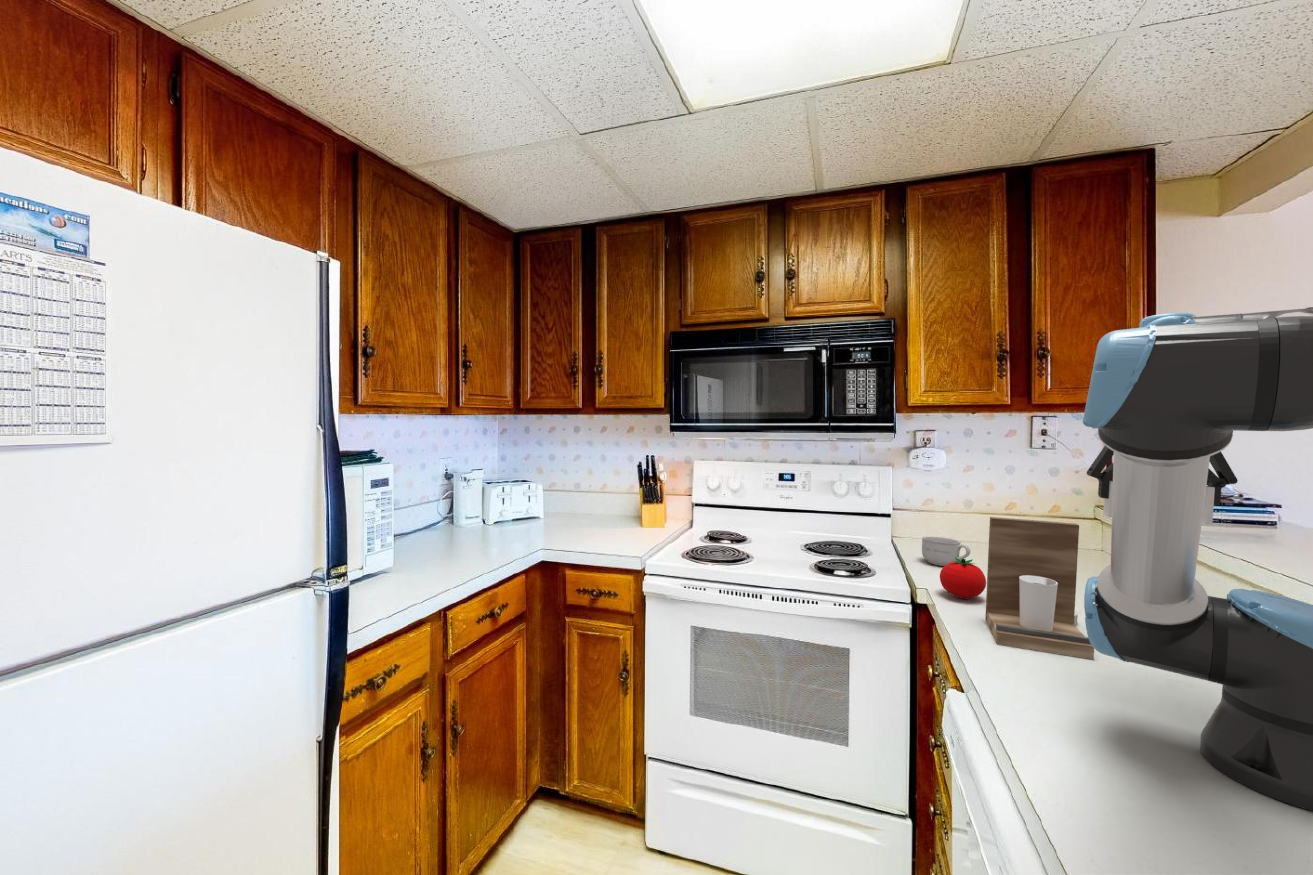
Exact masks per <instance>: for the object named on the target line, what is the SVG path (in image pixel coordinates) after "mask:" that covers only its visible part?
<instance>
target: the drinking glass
mask: <svg viewBox="0 0 1313 875" xmlns="http://www.w3.org/2000/svg"><path fill="white" fill-rule="evenodd" d="M1057 586H1058V583H1057V582H1056V581H1054V580H1051V579H1048V578H1044V577H1039V576H1031V575H1023V576H1020V577H1019V589H1020V625H1021V626H1023V627H1025V628H1027V629H1034V630H1040V631H1047V632H1051V631H1053V622H1054V613H1055V604H1056V595H1057Z"/></svg>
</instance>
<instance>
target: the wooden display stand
mask: <svg viewBox="0 0 1313 875" xmlns="http://www.w3.org/2000/svg"><path fill="white" fill-rule="evenodd" d="M988 528H989V531H988V533H989V534H988V550H987V551H988V552H987V573H986V574H987V575H986V576H987V578H986V595H985V597H986V598H985V599H986V600H985V615H984V616H985V618H984V619H985V622H986V624H987V626H988V628H989V631H990V632H991V634H992V637H993V638H994V640H995V642H996V644H997V645H999V646H1000V645H1001V646H1007V647H1011V648H1012V647H1013V648H1019V649H1025V650H1026V649H1027V650H1032V651H1037V652H1038V651H1039V652H1043V653H1044V652H1045V653H1051V654H1058V655H1063V656H1070V657H1075V658H1076V657H1077V658H1082V659H1087V660H1088V659H1089V660H1094V659H1095V658H1094V656H1095V649H1094V648H1093V646H1092V645H1091V643H1090V641H1089V638H1088V636H1086V635H1084V634H1083V633H1082V632H1081V630H1080V629H1079V628H1078V627H1077V625H1076V626H1075V625H1074V613H1075V611H1076V592H1077V573H1078V558H1079V556H1078V555H1079V554H1078V553H1079V539H1080V538H1079V537H1080V525H1079V524H1077V523H1074V522H1060V521H1046V520H1038V519H1037V520H1036V519H1035V520H1034V519H1022V518H1021V519H1020V518H1009V517H997V516H989V527H988ZM1023 575H1031V576H1039V577H1044V578H1048V579H1051V580H1054V581H1056V582H1057V583H1058V586H1057V595H1056V604H1055V613H1054V622H1053V631H1051V632H1047V631H1040V630H1034V629H1027V628H1025V627H1023V626H1021V625H1020V589H1019V577H1020V576H1023Z"/></svg>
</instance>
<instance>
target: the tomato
mask: <svg viewBox="0 0 1313 875" xmlns="http://www.w3.org/2000/svg"><path fill="white" fill-rule="evenodd" d="M955 559H956V560H957V561H958V562H957V561H954V562H950V563H948V564H946V565H945V566H942V568H941V570H940V573H939V581H940V584H941V586H942V588H943V589H944V591H946V592H947V593H948V594H950V595H952V596H953V597H956V598H959V599H973V598H976V597H979V596H980V595H981V594H982V593H983V592H984V591H985V589H986V588H987V578H986V575H985V574H984V572H983V570H982V569H981V568H980V567H978V566H977V565H975V564H977V563H976V562H973V561H974V559H969V560H966V558H964V559H961V560H960V559H958V558H956V557H955ZM951 561H952V560H951Z"/></svg>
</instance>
